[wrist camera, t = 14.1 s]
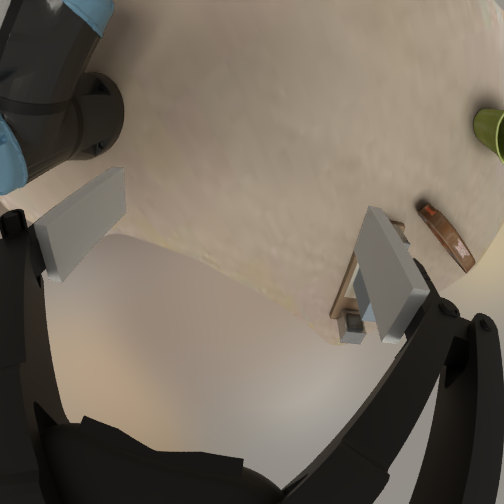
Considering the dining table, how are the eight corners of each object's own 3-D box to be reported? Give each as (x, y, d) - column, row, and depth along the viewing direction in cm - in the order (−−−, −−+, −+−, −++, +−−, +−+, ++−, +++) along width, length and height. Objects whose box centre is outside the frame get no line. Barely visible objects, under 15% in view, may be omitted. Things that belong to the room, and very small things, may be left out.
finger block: (352, 284, 50) (361, 320, 42) (361, 262, 47) (372, 297, 40) (372, 287, 50) (383, 322, 42) (381, 265, 47) (395, 300, 40)
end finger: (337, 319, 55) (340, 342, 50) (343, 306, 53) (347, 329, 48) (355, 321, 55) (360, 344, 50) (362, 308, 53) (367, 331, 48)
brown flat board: (329, 314, 56) (330, 318, 55) (366, 214, 44) (368, 218, 43) (361, 318, 56) (362, 322, 55) (403, 223, 44) (405, 227, 43)
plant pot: (504, 152, 33) (534, 168, 26) (466, 154, 36) (496, 172, 28) (501, 100, 29) (534, 109, 22) (462, 99, 31) (494, 106, 24)
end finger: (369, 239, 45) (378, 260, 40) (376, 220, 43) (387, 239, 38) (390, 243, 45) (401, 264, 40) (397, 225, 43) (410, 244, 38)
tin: (410, 205, 42) (430, 229, 35) (423, 192, 41) (446, 215, 34) (450, 256, 46) (469, 283, 39) (462, 245, 44) (482, 271, 37)
